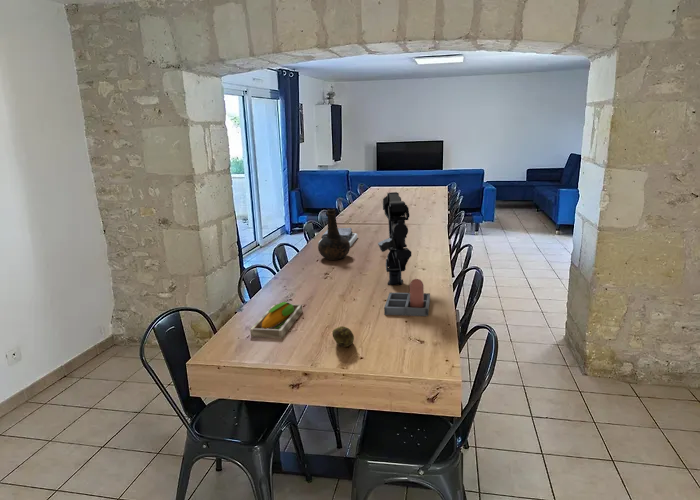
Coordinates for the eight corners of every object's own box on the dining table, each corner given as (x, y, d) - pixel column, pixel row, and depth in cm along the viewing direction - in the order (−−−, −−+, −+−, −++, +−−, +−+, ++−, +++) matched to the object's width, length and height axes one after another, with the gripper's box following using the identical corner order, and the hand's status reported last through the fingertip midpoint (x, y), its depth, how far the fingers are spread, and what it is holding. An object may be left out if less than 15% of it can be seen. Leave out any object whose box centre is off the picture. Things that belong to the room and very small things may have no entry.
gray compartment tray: (389, 299, 207) (389, 292, 206) (430, 300, 203) (429, 293, 202) (384, 314, 191) (384, 307, 190) (427, 316, 187) (427, 308, 186)
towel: (326, 239, 315) (325, 227, 313) (354, 238, 312) (353, 227, 310) (321, 245, 301) (320, 232, 299) (350, 244, 298) (349, 232, 296)
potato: (359, 338, 172) (358, 317, 170) (351, 355, 160) (350, 332, 158) (336, 336, 174) (335, 316, 171) (327, 353, 161) (326, 331, 159)
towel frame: (327, 237, 320) (327, 233, 319) (357, 237, 315) (357, 233, 314) (318, 246, 298) (318, 242, 297) (350, 247, 294) (349, 242, 293)
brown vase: (351, 253, 280) (349, 205, 273) (348, 262, 263) (346, 211, 255) (321, 254, 282) (318, 206, 275) (316, 263, 265) (312, 212, 257)
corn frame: (274, 310, 201) (274, 303, 200) (302, 311, 198) (301, 304, 198) (251, 336, 177) (250, 329, 176) (282, 338, 175) (281, 330, 174)
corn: (297, 298, 192) (270, 317, 174) (300, 315, 194) (273, 336, 176) (281, 297, 195) (253, 316, 178) (284, 314, 197) (256, 335, 179)
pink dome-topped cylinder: (407, 309, 193) (406, 279, 190) (417, 306, 196) (417, 276, 192) (416, 313, 189) (415, 282, 185) (426, 310, 191) (426, 279, 188)
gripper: (374, 229, 209) (376, 263, 213) (384, 238, 191) (385, 276, 195) (399, 227, 211) (400, 261, 215) (411, 236, 193) (412, 273, 197)
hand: (399, 268), depth 205 cm, fingers open, 9 cm apart
